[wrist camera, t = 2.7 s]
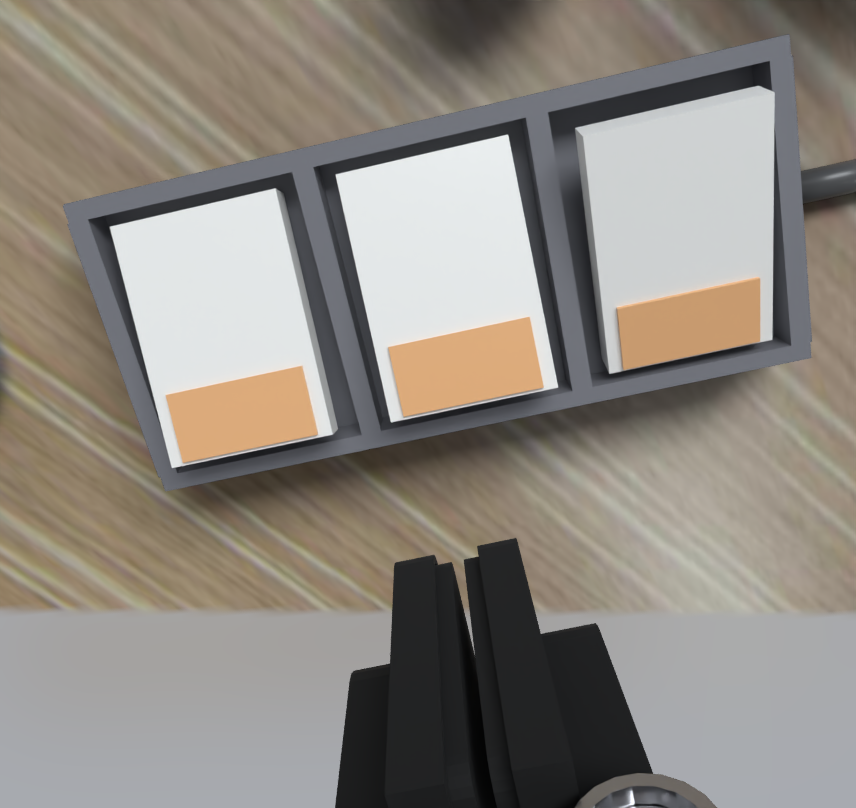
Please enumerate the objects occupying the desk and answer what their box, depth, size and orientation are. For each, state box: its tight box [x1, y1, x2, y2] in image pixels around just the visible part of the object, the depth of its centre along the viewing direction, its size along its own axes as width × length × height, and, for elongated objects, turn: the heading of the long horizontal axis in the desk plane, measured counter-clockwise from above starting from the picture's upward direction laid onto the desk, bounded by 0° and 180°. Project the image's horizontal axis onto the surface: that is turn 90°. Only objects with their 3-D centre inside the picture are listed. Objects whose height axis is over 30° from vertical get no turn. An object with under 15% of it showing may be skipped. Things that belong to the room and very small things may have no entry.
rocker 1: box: [110, 188, 338, 468], centre depth 23 cm, size 5×7×1 cm
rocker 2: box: [575, 86, 775, 374], centre depth 22 cm, size 5×7×1 cm
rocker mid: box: [335, 135, 558, 422], centre depth 23 cm, size 5×7×1 cm
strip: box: [63, 34, 856, 491], centre depth 24 cm, size 26×9×4 cm, turn 102°
